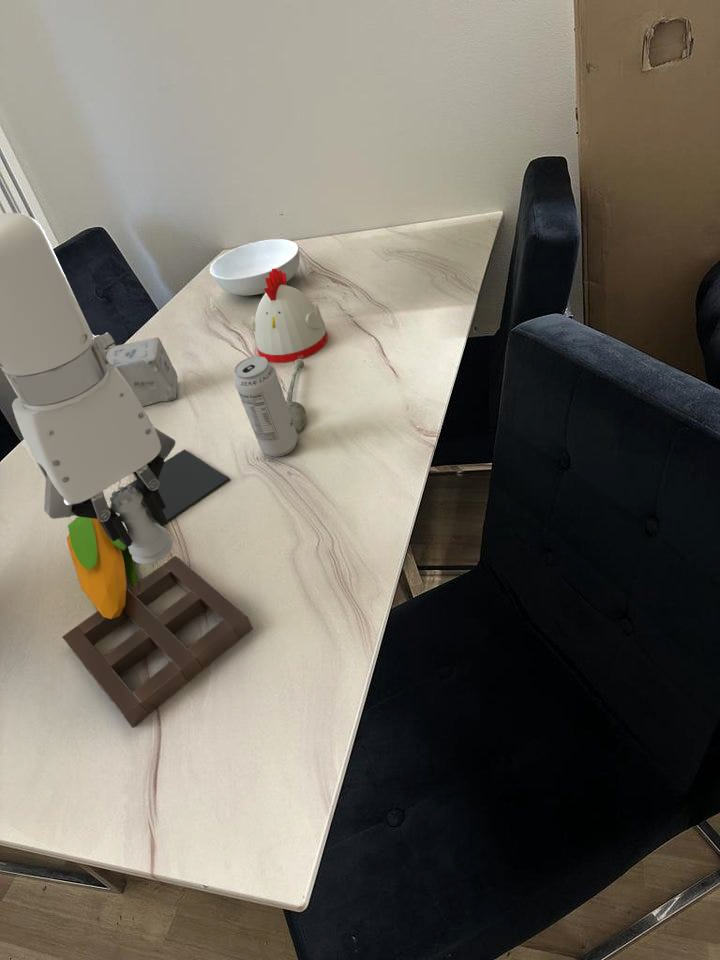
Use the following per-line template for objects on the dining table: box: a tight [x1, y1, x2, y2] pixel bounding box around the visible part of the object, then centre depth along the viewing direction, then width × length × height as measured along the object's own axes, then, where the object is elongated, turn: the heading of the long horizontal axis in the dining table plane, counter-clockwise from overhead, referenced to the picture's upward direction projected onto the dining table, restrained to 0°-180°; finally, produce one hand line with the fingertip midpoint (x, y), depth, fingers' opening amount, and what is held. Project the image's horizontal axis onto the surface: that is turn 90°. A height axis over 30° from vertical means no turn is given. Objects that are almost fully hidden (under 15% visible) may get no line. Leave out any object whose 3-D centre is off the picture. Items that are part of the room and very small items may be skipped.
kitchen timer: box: [250, 268, 329, 364], centre depth 124 cm, size 14×14×15 cm
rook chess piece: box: [109, 484, 174, 566], centre depth 67 cm, size 4×4×8 cm
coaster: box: [116, 449, 231, 527], centre depth 100 cm, size 13×13×1 cm
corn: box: [66, 516, 139, 619], centre depth 84 cm, size 7×8×20 cm
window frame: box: [62, 555, 254, 728], centre depth 77 cm, size 16×16×2 cm
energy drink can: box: [233, 355, 299, 458], centre depth 98 cm, size 6×6×15 cm
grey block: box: [106, 336, 179, 407], centre depth 119 cm, size 10×8×10 cm
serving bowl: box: [209, 238, 301, 297], centre depth 153 cm, size 21×21×7 cm
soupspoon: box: [285, 359, 307, 434], centre depth 112 cm, size 22×3×7 cm
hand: (140, 527), depth 67 cm, fingers closed on rook chess piece, 3 cm apart
